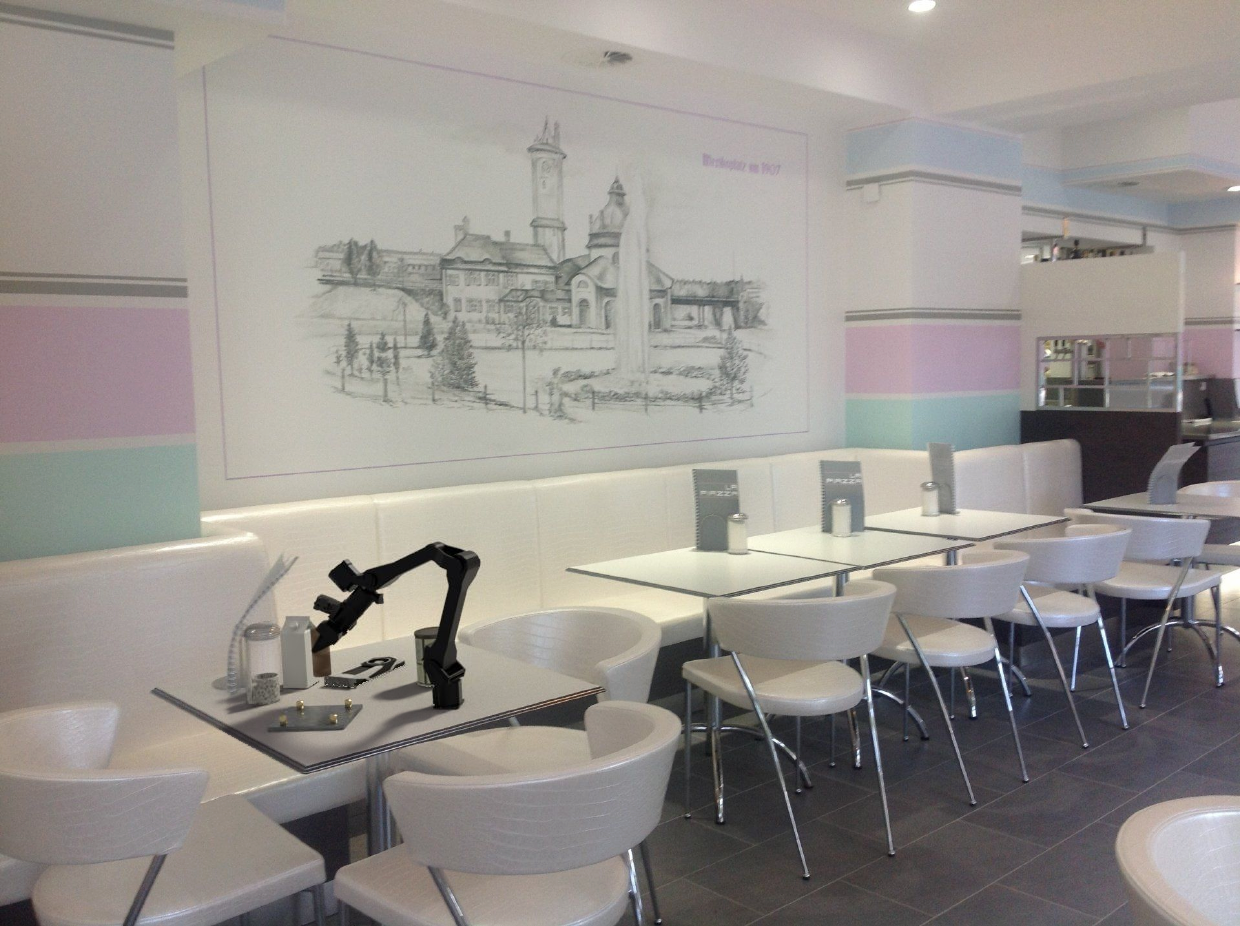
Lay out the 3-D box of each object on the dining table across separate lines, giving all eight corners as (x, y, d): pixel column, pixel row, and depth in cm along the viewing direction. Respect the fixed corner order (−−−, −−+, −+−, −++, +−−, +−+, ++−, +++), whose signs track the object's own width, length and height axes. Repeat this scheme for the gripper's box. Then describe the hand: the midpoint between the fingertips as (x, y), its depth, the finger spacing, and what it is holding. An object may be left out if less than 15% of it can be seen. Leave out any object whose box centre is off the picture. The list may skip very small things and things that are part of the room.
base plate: (362, 708, 263) (362, 697, 263) (344, 728, 247) (343, 717, 247) (291, 710, 264) (290, 699, 263) (268, 731, 248) (267, 719, 247)
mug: (265, 696, 277) (263, 671, 277) (285, 698, 275) (284, 673, 274) (238, 707, 268) (236, 682, 267) (259, 710, 265) (257, 684, 265)
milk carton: (296, 681, 291) (292, 613, 290) (320, 681, 289) (316, 613, 288) (283, 688, 284) (278, 618, 283) (307, 689, 282) (303, 618, 281)
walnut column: (334, 672, 272) (331, 626, 271) (327, 677, 268) (324, 630, 267) (317, 672, 273) (314, 626, 272) (310, 677, 268) (307, 630, 267)
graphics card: (323, 676, 284) (379, 652, 307) (324, 688, 284) (380, 664, 307) (354, 679, 280) (408, 655, 303) (354, 691, 280) (409, 666, 303)
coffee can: (445, 674, 291) (442, 624, 290) (462, 682, 283) (459, 630, 282) (410, 681, 285) (407, 630, 284) (426, 689, 277) (423, 636, 276)
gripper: (341, 577, 278) (302, 620, 279) (321, 591, 259) (279, 637, 260) (373, 605, 278) (334, 648, 279) (355, 621, 260) (313, 667, 260)
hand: (315, 649), depth 270 cm, fingers closed on walnut column, 4 cm apart
